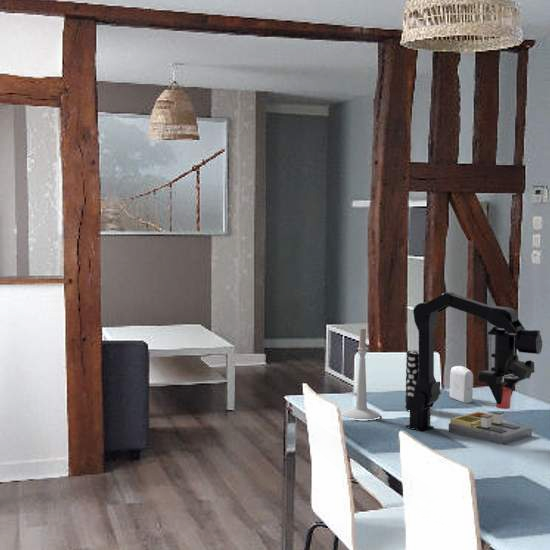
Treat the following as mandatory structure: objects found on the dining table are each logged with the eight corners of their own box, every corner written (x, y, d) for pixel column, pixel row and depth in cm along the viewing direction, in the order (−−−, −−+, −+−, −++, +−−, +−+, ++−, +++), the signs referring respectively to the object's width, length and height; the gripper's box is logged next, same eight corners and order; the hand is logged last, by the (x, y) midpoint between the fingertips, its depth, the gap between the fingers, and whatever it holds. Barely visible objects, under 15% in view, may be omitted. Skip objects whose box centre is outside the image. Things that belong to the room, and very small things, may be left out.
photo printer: (474, 402, 300) (475, 368, 300) (464, 403, 299) (465, 369, 298) (457, 396, 310) (458, 363, 309) (447, 397, 308) (448, 364, 308)
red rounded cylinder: (505, 409, 244) (506, 391, 244) (493, 406, 247) (494, 388, 247) (512, 407, 247) (514, 389, 246) (501, 404, 250) (502, 386, 249)
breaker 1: (486, 427, 253) (486, 416, 252) (480, 426, 254) (481, 415, 254) (491, 426, 254) (491, 415, 254) (485, 425, 256) (485, 414, 256)
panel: (503, 444, 245) (503, 431, 244) (448, 431, 259) (448, 418, 259) (531, 435, 255) (532, 422, 255) (477, 423, 270) (478, 411, 269)
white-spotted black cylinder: (431, 413, 284) (433, 354, 282) (406, 412, 284) (408, 354, 282) (427, 407, 292) (428, 350, 290) (403, 407, 292) (404, 350, 291)
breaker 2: (498, 424, 258) (499, 413, 257) (493, 422, 259) (493, 411, 259) (503, 422, 259) (503, 411, 259) (497, 421, 261) (497, 410, 260)
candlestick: (335, 413, 281) (337, 325, 279) (369, 410, 286) (371, 323, 284) (352, 422, 269) (353, 330, 267) (387, 419, 274) (389, 328, 272)
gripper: (510, 357, 234) (509, 412, 235) (546, 350, 246) (544, 403, 247) (477, 352, 242) (475, 405, 243) (512, 346, 255) (511, 397, 256)
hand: (503, 403), depth 247 cm, fingers closed on red rounded cylinder, 4 cm apart
